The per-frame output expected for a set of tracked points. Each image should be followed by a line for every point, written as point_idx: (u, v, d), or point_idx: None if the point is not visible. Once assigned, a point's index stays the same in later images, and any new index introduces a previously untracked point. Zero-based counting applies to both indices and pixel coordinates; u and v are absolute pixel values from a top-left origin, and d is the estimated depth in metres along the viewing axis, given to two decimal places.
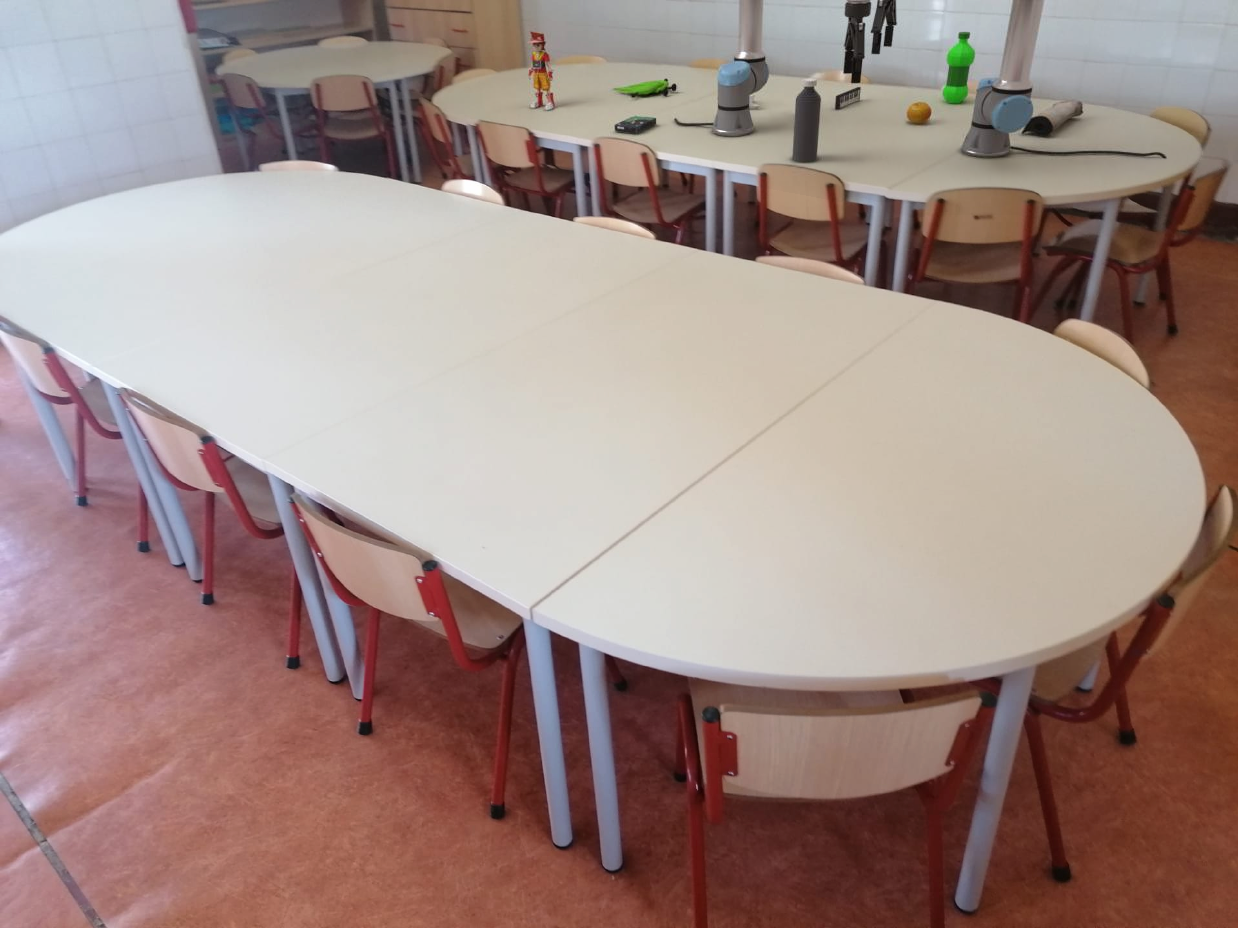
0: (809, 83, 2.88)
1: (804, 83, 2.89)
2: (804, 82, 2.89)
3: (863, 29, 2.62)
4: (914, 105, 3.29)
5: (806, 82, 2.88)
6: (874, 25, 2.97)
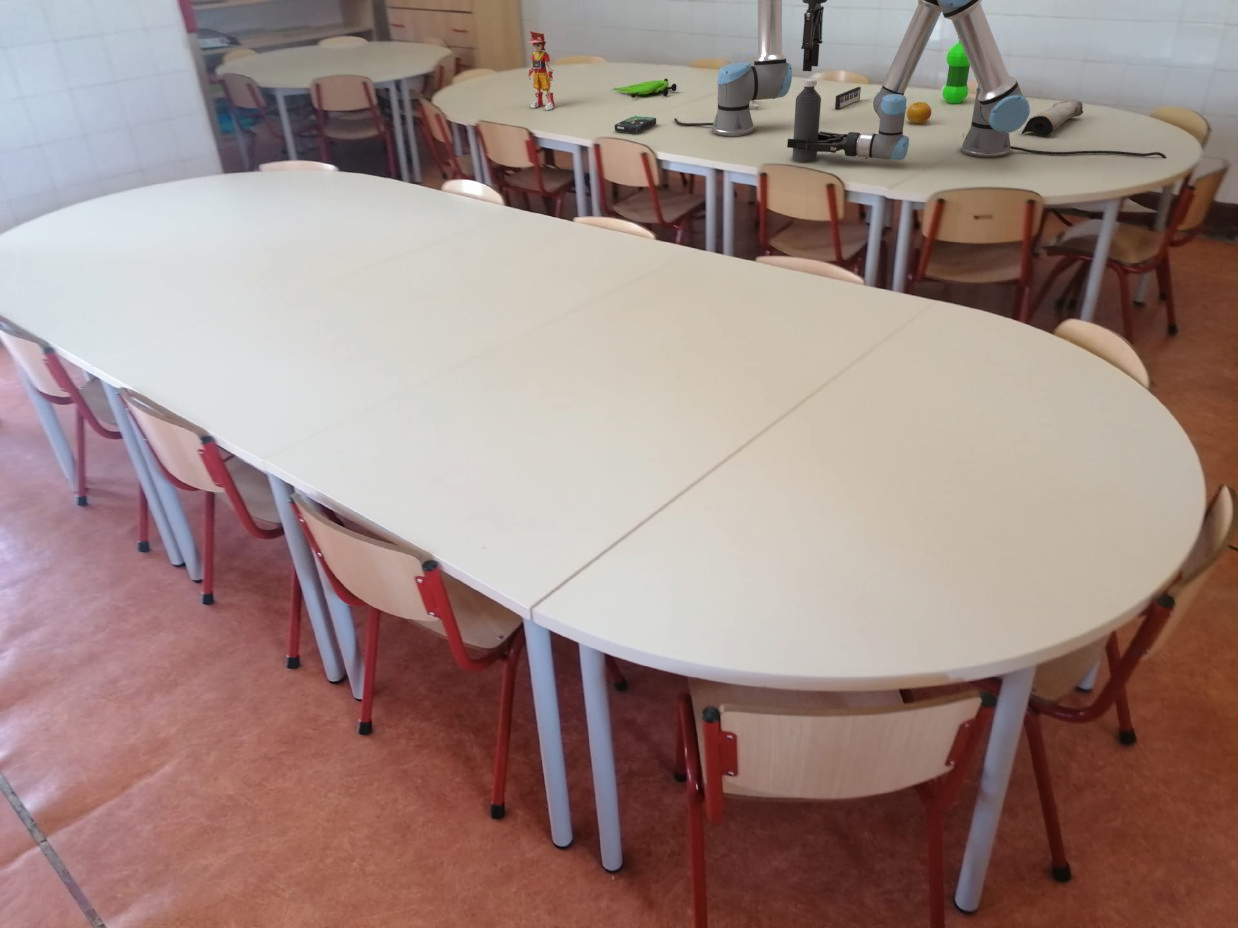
0: (809, 83, 2.88)
1: (804, 83, 2.89)
2: (804, 82, 2.89)
3: None
4: (914, 105, 3.29)
5: (806, 82, 2.88)
6: None
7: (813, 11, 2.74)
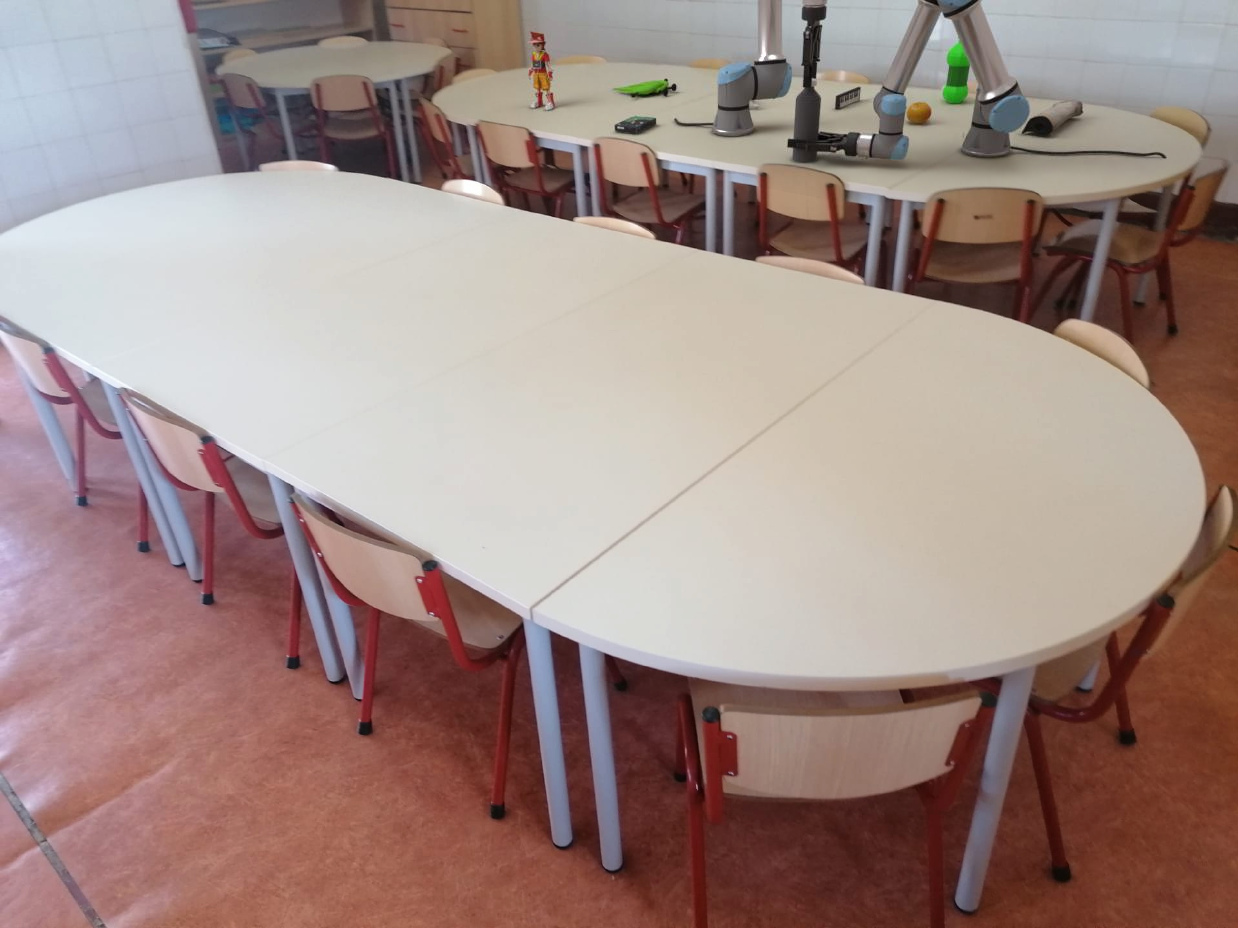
0: None
1: None
2: None
3: None
4: (914, 105, 3.29)
5: None
6: None
7: (812, 28, 2.77)
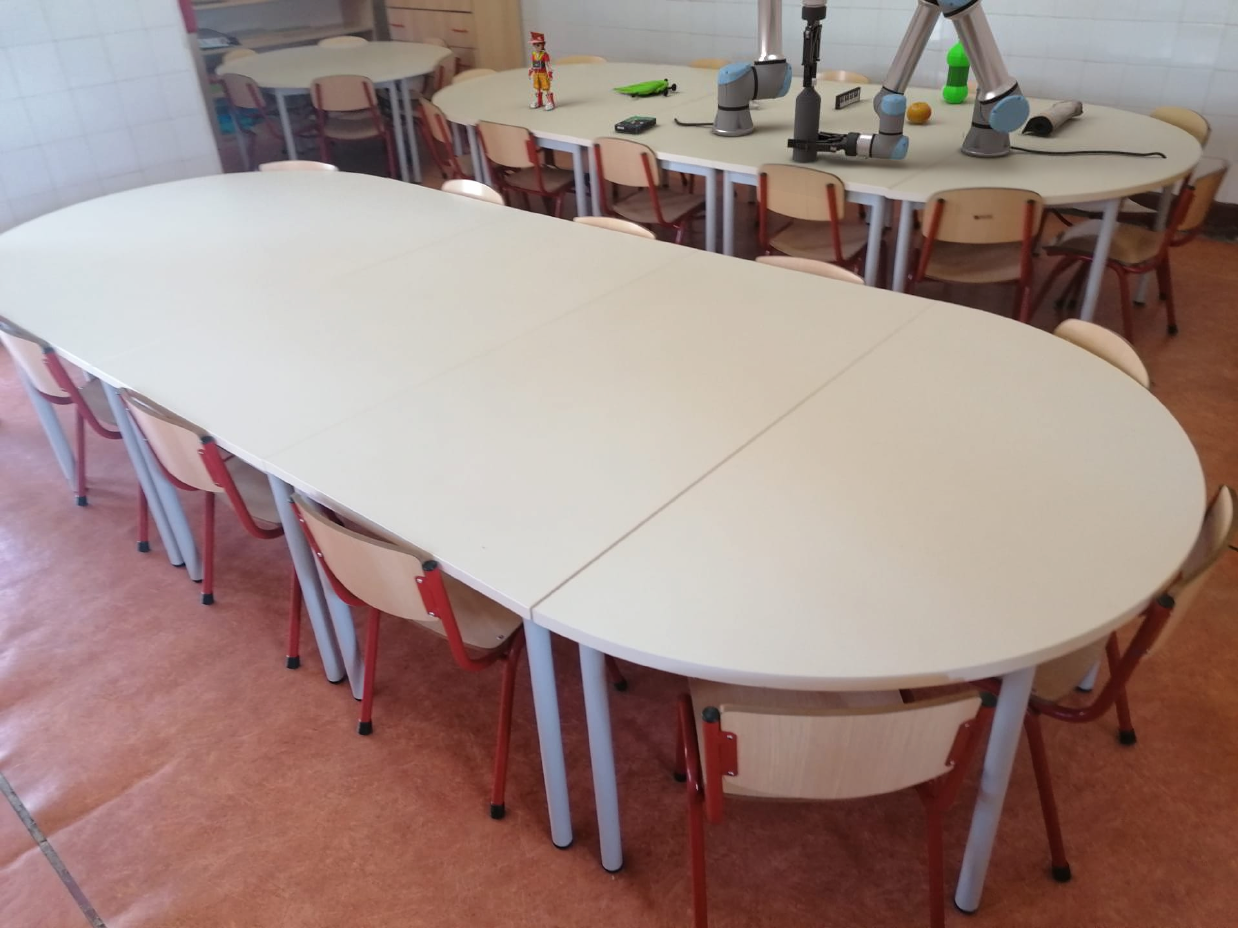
0: (816, 81, 2.89)
1: (814, 83, 2.88)
2: (814, 82, 2.88)
3: None
4: (914, 105, 3.29)
5: (815, 81, 2.88)
6: None
7: (812, 28, 2.77)
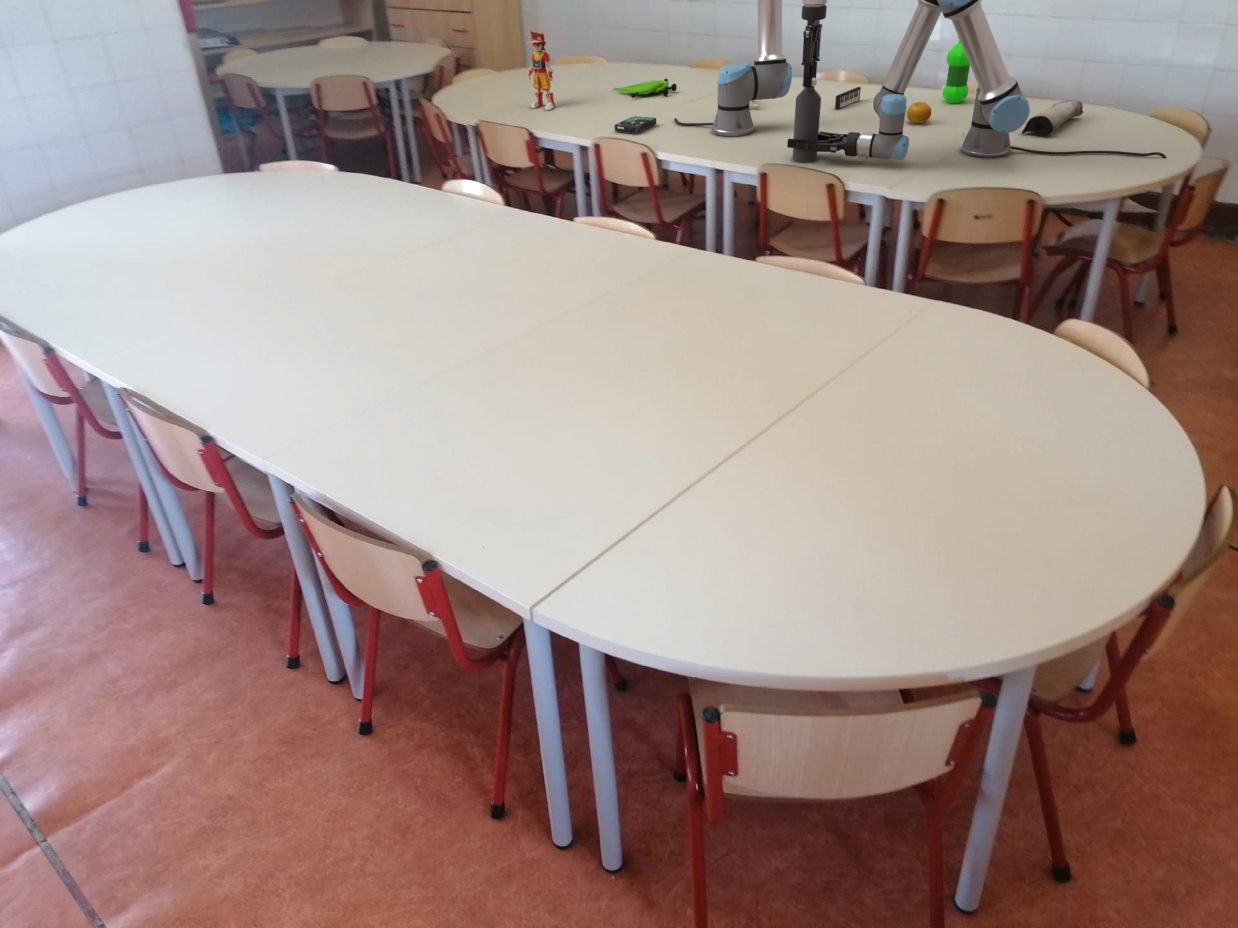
0: None
1: None
2: None
3: None
4: (914, 105, 3.29)
5: None
6: None
7: (812, 28, 2.77)
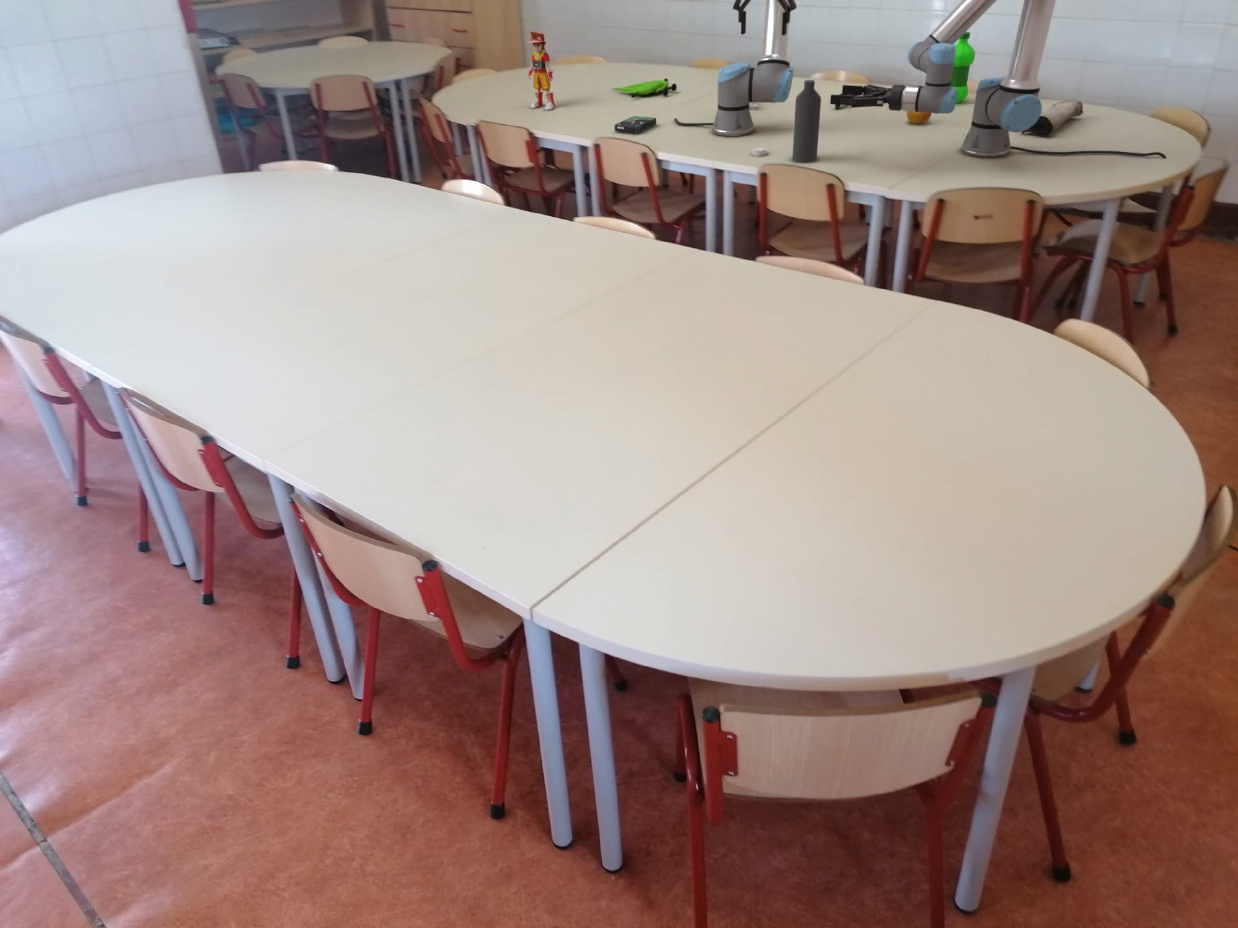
0: (765, 151, 3.10)
1: (763, 152, 3.09)
2: (763, 151, 3.09)
3: None
4: None
5: (764, 151, 3.09)
6: None
7: None
